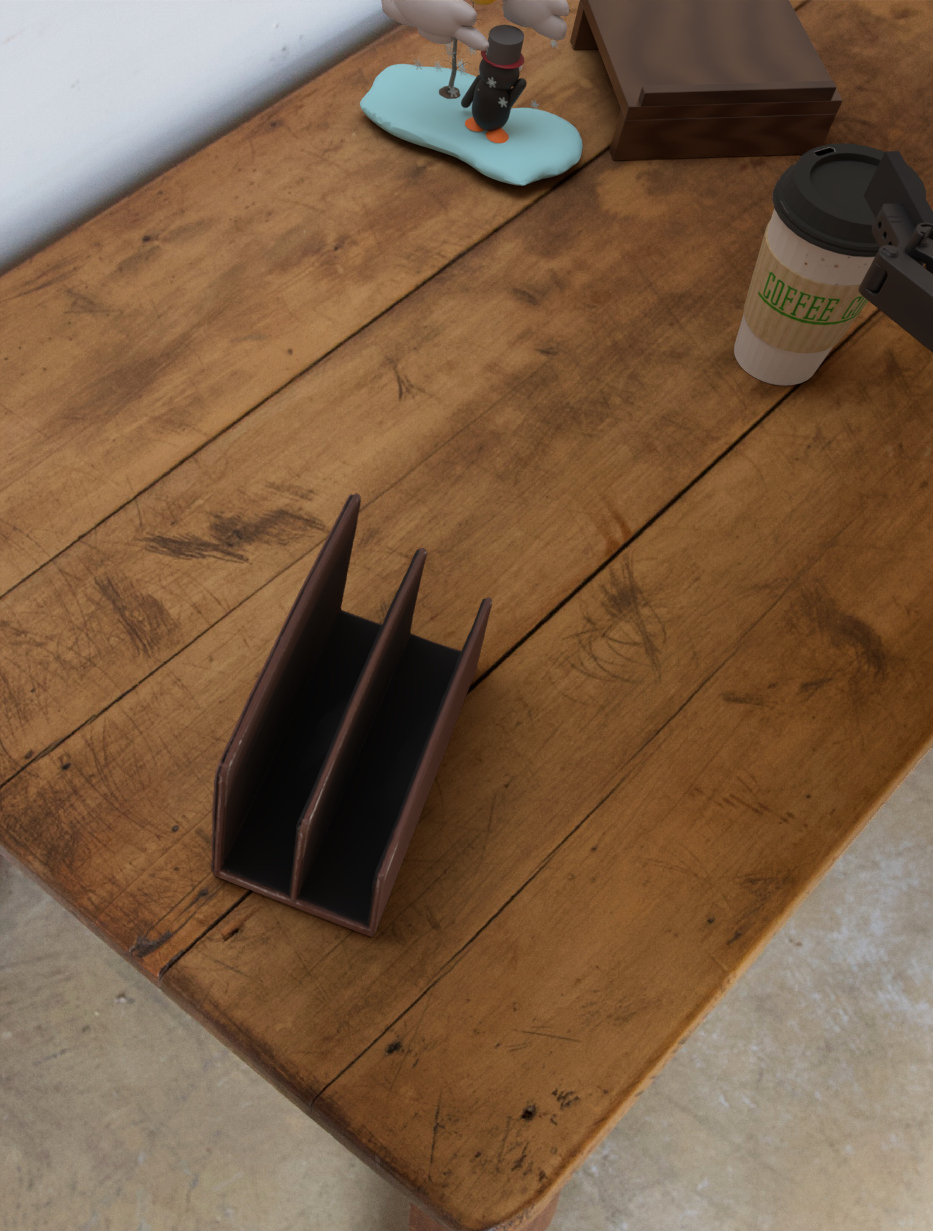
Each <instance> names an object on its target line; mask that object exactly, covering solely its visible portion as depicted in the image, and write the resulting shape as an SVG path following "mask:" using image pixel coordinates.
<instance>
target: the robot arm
mask: <svg viewBox="0 0 933 1231" xmlns="http://www.w3.org/2000/svg"><path fill="white" fill-rule="evenodd" d="M884 152H885V153H884V155H883V157H882V159H881V161H880V163H879V165H878V167H877V169H876V171H875V173H874V175H873V177H872V179H871V181H870V183H869V185H868V187H867V189H866V191H865V193H864V197H865V199H866V201H867V203H868V205H869V207H870V209H871V211H872V213H873V215H874V217H875V221H874V223H873V225H872V234H873V236H874V238H875V239H876V242H877V244H878V246H879V248H880V249H879V250H878V252H877V254H876V256H875V258H874V260H873V262H872V264H871V265H870V267H869V269H868V271H867V273H866V275H865V277H864V279H863V281H862V282H861V284H860V286H859V289H858V290H859V293H860V294H861V295H862V296H863V297H864V298H866V299H867V300H868V303H871V304H872V305H873V306H874V307H875V308H877V309H878V310H879V311H881V312H882V313H883V314H884V315H885V316H886V317H888V318H889V319H890V320H892V321H893V322H894V323H895V324H896V325H897V326H898V327H900V328H901V329H902V330H904V331H905V332H906V333H907V334H909V335H910V336H911V337H913V338H914V339H915V340H916V341H917V342H919V343H920V344H921V345H922V346H923V347H925V348H926V349H927V350H928V351H929V352H931V353H932V354H933V209H932V208H931V206H930V204H929V202H928V200H927V197H926V198H925V196H924V195H923V193H922V191H921V189H920V187H919V186H918V184H917V182H916V180H915V179H914V177H913V175H912V173H911V171H910V170H909V168H908V166H909V165H908V164H907V162H906V161H905V158H904V157H903V155H902V154H901V152H900V150H891V151H890V150H886V151H884ZM907 165H908V166H907ZM924 266H925V267H924Z"/></svg>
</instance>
